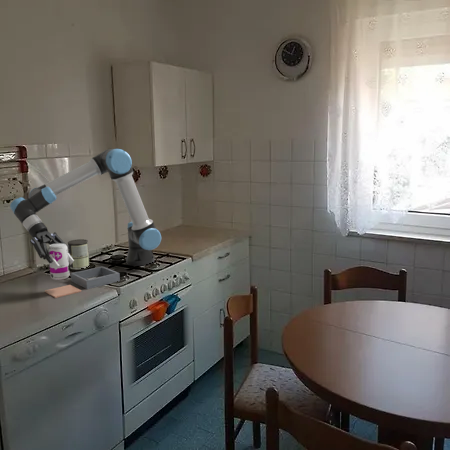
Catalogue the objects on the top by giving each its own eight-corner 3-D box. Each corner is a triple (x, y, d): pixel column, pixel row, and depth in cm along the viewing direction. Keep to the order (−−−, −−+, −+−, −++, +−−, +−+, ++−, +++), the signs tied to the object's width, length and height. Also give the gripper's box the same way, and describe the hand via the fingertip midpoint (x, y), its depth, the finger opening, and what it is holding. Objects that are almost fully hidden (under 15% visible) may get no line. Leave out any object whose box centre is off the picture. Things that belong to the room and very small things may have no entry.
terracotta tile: (70, 285, 224) (69, 284, 224) (81, 291, 215) (81, 290, 215) (44, 291, 216) (44, 290, 216) (55, 298, 207) (55, 296, 207)
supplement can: (64, 280, 209) (61, 247, 206) (47, 279, 211) (44, 246, 208) (73, 275, 217) (70, 243, 214) (56, 274, 219) (54, 242, 216)
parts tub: (103, 273, 242) (102, 266, 241) (120, 281, 229) (119, 273, 229) (71, 281, 231) (70, 273, 230) (87, 289, 218) (86, 280, 217)
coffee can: (65, 268, 254) (63, 242, 251) (79, 263, 263) (77, 238, 260) (80, 270, 249) (78, 244, 247) (93, 265, 258) (91, 240, 256)
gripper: (49, 228, 226) (77, 264, 222) (12, 236, 208) (42, 276, 204) (56, 217, 223) (85, 254, 219) (20, 225, 204) (50, 265, 200)
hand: (64, 265), depth 211 cm, fingers closed on supplement can, 8 cm apart
